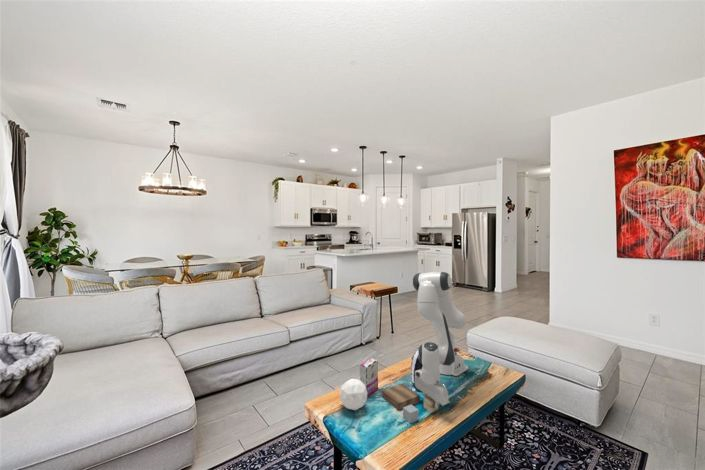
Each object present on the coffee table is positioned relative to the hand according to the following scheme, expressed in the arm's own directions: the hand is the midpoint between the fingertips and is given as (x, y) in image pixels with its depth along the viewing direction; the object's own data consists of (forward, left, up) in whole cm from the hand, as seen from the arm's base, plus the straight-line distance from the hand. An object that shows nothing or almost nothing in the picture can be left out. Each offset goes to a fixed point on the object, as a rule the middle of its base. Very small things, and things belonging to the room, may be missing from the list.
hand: (430, 404), depth 149 cm
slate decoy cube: (+14, +1, -2) cm, 14 cm away
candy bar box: (+18, -29, -2) cm, 34 cm away
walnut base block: (+8, -14, -3) cm, 16 cm away
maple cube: (0, 0, -2) cm, 2 cm away
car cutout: (-13, +1, -3) cm, 13 cm away
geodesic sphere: (+33, -19, -2) cm, 38 cm away
